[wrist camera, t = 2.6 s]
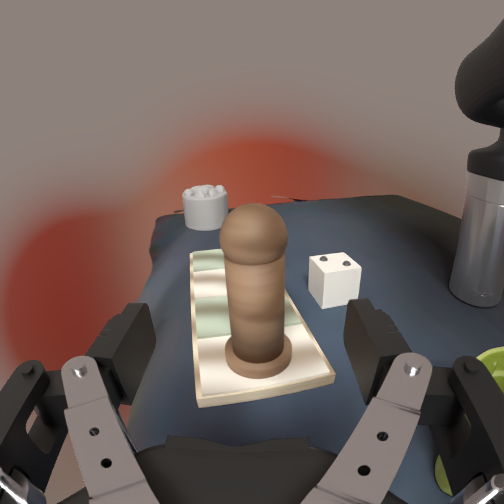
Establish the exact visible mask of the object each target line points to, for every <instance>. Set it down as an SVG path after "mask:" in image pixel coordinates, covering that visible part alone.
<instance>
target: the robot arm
mask: <svg viewBox="0 0 504 504" xmlns="http://www.w3.org/2000/svg"><path fill="white" fill-rule="evenodd" d="M455 95H456V100H457V103H458V105H459V108H460V109H461V111H462V112H463V113H464V114H465V115H466V116H467V117H468V118H470V119H471V120H473V121H475V122H478V123H482V124H486V125H491V126H495V127H499V128H501V129H500V136H499V139H498V141H497V142H495V143H494V144H492V145H490V146H488V147H485V148H481V149H476V150H473V151H471V152H470V153H469V155H468V162H467V170H468V171H467V178H466V189H465V200H464V208H463V216H462V222H461V228H460V235H459V240H458V246H457V251H456V256H455V260H454V265H453V270H452V274H451V278H450V282H449V288H450V291H451V292H452V293H453V294H454V295H455V296H456V297H457V298H459V299H460V300H462V301H464V302H466V303H468V304H471V305H474V306H478V307H493V306H495V305H497V304H498V303H499V302H500V299H501V296H502V293H503V290H504V19H503V20H502V22H501V23H500V24H499V25H498V26H497V28H496V29H495V30H494V31H493V32H492V34H491V35H490V36H489V37H488V38H487V39H486V40H485V41H484V42H483V43H482V44H480V45H479V46H478V47H477V48H475V49H474V50H473V51H472V52H471V53H470V54H469V55H467V57H466V58H465V59H464V60H463V61H462V63H461V65H460V67H459V69H458V72H457V76H456V80H455ZM155 344H156V337H155V332H154V328H153V324H152V319H151V315H150V311H149V307H148V305H147V304H146V303H128V304H127V306H126V307H125V308H124V310H123V312H122V313H121V314H117V315H116V316H114V317H113V318H112V319H110V320H109V321H108V322H107V324H106V325H105V327H104V328H103V330H102V331H101V332H100V334H99V336H98V337H97V338H96V340H95V341H94V343H93V344H92V346H91V347H90V349H89V350H88V352H87V353H86V355H85V356H78V357H75V358H72V359H70V360H69V361H67V362H66V363H65V365H64V366H63V368H62V370H56V371H46V370H45V368H44V366H43V364H42V363H41V362H40V361H37V360H30V361H26V362H24V363H22V364H21V365H19V366H18V367H17V368H16V370H15V371H14V372H13V374H12V375H11V377H10V378H9V380H8V381H7V382H6V384H5V385H4V387H3V388H2V390H1V391H0V504H46V498H45V496H44V492H45V489H46V486H47V484H48V481H49V478H50V475H51V473H52V470H53V468H54V465H55V462H56V460H57V457H58V455H59V452H60V450H61V447H62V445H63V442H64V440H65V438H66V435H67V433H68V431H69V434H70V438H71V442H72V445H73V448H74V452H75V455H76V459H77V462H78V465H79V468H80V471H81V474H82V477H83V480H84V482H85V485H86V487H84V488H82V489H81V490H79V491H78V492H76V493H74V494H73V495H71V496H69V497H68V498H66V499H64V500H63V501H61V502H59V503H57V504H408V503H406V502H405V501H403V500H402V499H400V498H399V497H397V496H396V495H394V494H393V493H391V492H390V491H388V489H389V487H390V485H391V483H392V481H393V479H394V477H395V475H396V473H397V471H398V469H399V467H400V464H401V462H402V460H403V458H404V455H405V453H406V451H407V448H408V446H409V444H410V441H411V439H412V436H413V434H414V431H415V428H416V426H417V425H429V427H430V430H431V433H432V435H433V438H434V441H435V444H436V446H437V449H438V452H439V455H440V458H441V461H442V464H443V467H444V470H445V473H446V476H447V479H448V482H449V486H450V489H451V492H452V496H453V498H452V499H451V501H450V502H449V504H504V394H503V392H502V391H501V389H500V387H499V386H498V384H497V383H496V381H495V380H494V378H493V377H492V375H491V373H490V372H489V370H488V369H487V367H486V366H485V365H484V363H482V362H481V361H480V360H478V359H477V358H474V357H470V356H463V357H460V358H458V359H456V361H455V362H454V364H453V367H452V368H441V367H432V365H431V363H430V361H429V360H428V359H427V358H425V357H424V356H422V355H420V354H417V353H412V351H411V350H410V348H409V347H408V345H407V343H406V342H405V340H404V338H403V337H402V335H401V334H400V332H398V329H397V327H396V326H395V325H394V322H393V321H392V319H391V318H390V316H389V315H387V314H386V313H385V312H383V311H382V310H380V309H379V310H375V309H374V307H373V305H372V304H371V302H370V301H369V299H368V298H363V299H350V300H349V301H348V305H347V313H346V320H345V327H344V345H345V348H346V351H347V354H348V356H349V359H350V362H351V365H352V368H353V370H354V373H355V376H356V379H357V382H358V385H359V388H360V391H361V394H362V396H363V399H364V402H365V405H369V406H368V408H367V409H366V411H365V413H364V415H363V416H362V418H361V420H360V421H359V423H358V425H357V426H356V428H355V430H354V431H353V433H352V435H351V436H350V438H349V439H348V441H347V443H346V444H345V446H344V447H343V449H342V450H341V452H340V453H339V455H337V454H335V453H332V452H330V451H327V450H324V449H320V448H316V447H309V442H308V437H305V438H291V439H272V440H268V441H264V442H259V443H255V444H250V445H245V446H240V447H233V446H228V445H224V444H220V443H216V442H212V441H209V440H205V439H201V438H190V437H179V436H170V435H168V436H167V440H166V444H165V445H158V446H153V447H150V448H147V449H144V450H142V451H139V452H138V450H137V448H136V446H135V444H134V442H133V440H132V438H131V436H130V434H129V432H128V430H127V428H126V426H125V424H124V422H123V419H122V417H121V415H120V413H119V411H118V408H119V406H120V404H124V405H131V404H132V402H133V399H134V397H135V394H136V392H137V389H138V387H139V385H140V382H141V380H142V377H143V375H144V372H145V370H146V368H147V365H148V363H149V361H150V358H151V356H152V353H153V351H154V349H155ZM33 409H34V411H35V412H36V414H37V415H38V416H37V418H36V420H35V422H34V424H33V425H32V427H31V429H30V431H29V433H28V434H27V432H26V422H27V420H28V418H29V416H30V415H31V412H32V411H33ZM465 414H466V416H467V418H468V420H469V422H470V425H471V427H470V425H469V422H468V420H467V418H466V416H465Z"/></svg>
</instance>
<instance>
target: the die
mask: <svg viewBox="0 0 504 504" xmlns="http://www.w3.org/2000/svg"><path fill="white" fill-rule="evenodd" d="M361 269H362V267H361V266H359V265H358V264H357V263H356V262H355V261H353V260H352V259H351V258H350V257H349V256H347V255H346V254H345V253H344V252H342V253H335V254H327V255H319V256H311V257H309V283H308V290H309V292H310V293H311V294H312V296H313V297H314V299H315V300H316V301H317V303H318V304H319V305H320V307H321V308H322V309H325V308H330V307H335V306H340V305H346V304H348V301H349V300H350V299H358V294H359V286H360V278H361Z"/></svg>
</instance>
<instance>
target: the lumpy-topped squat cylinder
mask: <svg viewBox="0 0 504 504" xmlns="http://www.w3.org/2000/svg"><path fill="white" fill-rule="evenodd" d="M183 205H184V215H185V224H186V226H187V227H188V228H191V229H195V230H215V229H219V228H221V226H222V223H223V221H224V220H225V218H226V217H227V215H228V199H227V192H226V191H225V189H224V187H223V186H221V185H218V186H216V187H214V186H212V185H204V186H194V187H192V188H191V189H186V190H185V191H184V193H183Z"/></svg>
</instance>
